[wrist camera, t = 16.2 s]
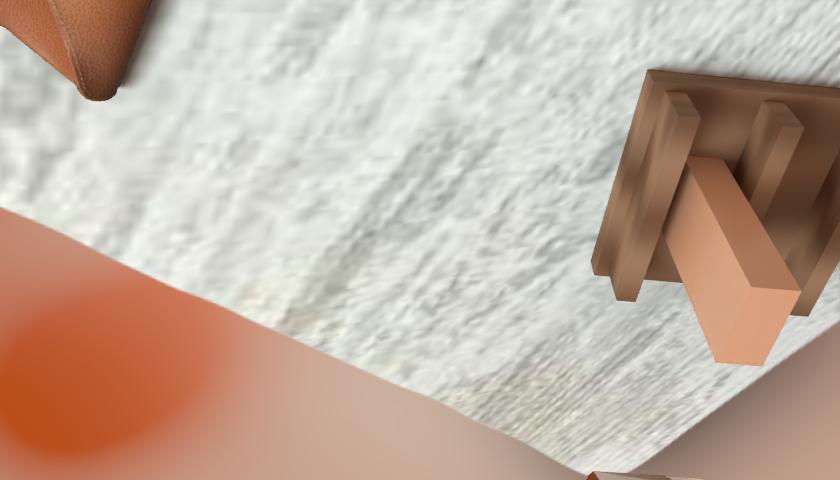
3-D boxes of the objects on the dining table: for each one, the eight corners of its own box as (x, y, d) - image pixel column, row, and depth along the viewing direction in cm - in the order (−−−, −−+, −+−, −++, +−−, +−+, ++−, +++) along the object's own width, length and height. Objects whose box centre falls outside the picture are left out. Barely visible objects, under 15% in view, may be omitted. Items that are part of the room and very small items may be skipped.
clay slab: (682, 155, 44) (751, 286, 34) (722, 159, 44) (801, 291, 35) (658, 223, 47) (715, 362, 37) (696, 227, 47) (762, 366, 38)
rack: (647, 69, 42) (666, 105, 39) (885, 93, 43) (926, 130, 39) (590, 261, 51) (602, 305, 47) (790, 278, 51) (817, 323, 48)
